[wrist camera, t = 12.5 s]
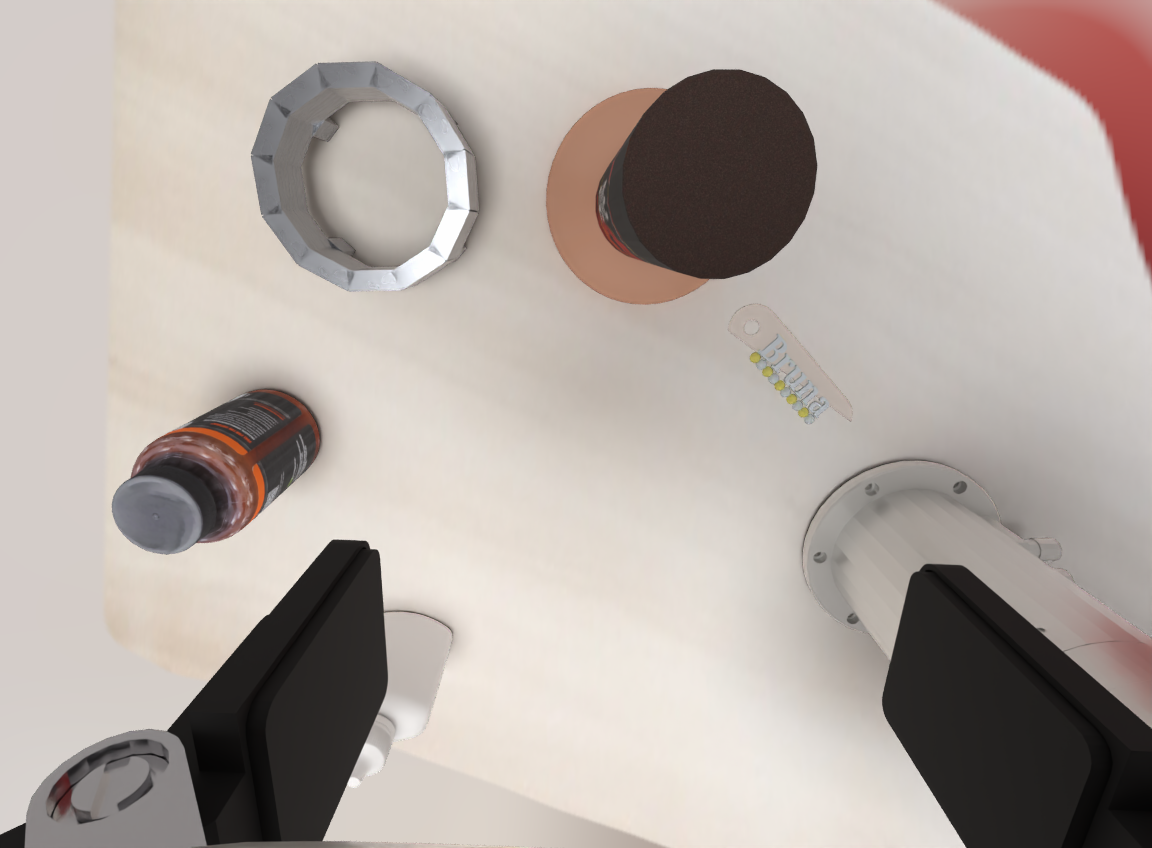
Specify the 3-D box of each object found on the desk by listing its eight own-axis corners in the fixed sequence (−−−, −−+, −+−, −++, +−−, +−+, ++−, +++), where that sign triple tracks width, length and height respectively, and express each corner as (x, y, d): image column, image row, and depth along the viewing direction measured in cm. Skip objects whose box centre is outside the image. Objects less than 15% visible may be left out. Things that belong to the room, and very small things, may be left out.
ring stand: (475, 85, 31) (458, 59, 27) (489, 280, 34) (475, 288, 30) (286, 89, 31) (234, 65, 27) (316, 284, 34) (274, 293, 30)
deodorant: (578, 171, 32) (591, 120, 18) (683, 125, 31) (785, 32, 17) (618, 277, 34) (661, 308, 19) (718, 235, 33) (839, 234, 19)
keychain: (718, 329, 35) (758, 293, 34) (716, 327, 36) (756, 292, 35) (825, 449, 38) (864, 418, 37) (821, 446, 38) (860, 415, 37)
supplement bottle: (218, 387, 36) (69, 454, 26) (315, 385, 36) (207, 451, 26) (237, 477, 38) (106, 575, 28) (330, 475, 38) (235, 572, 28)
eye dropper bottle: (424, 673, 43) (370, 833, 32) (362, 627, 42) (282, 776, 30) (463, 636, 42) (422, 787, 31) (401, 588, 41) (334, 728, 29)
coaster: (751, 88, 31) (756, 85, 31) (738, 300, 35) (742, 302, 34) (542, 94, 31) (542, 90, 31) (550, 305, 35) (550, 306, 34)
